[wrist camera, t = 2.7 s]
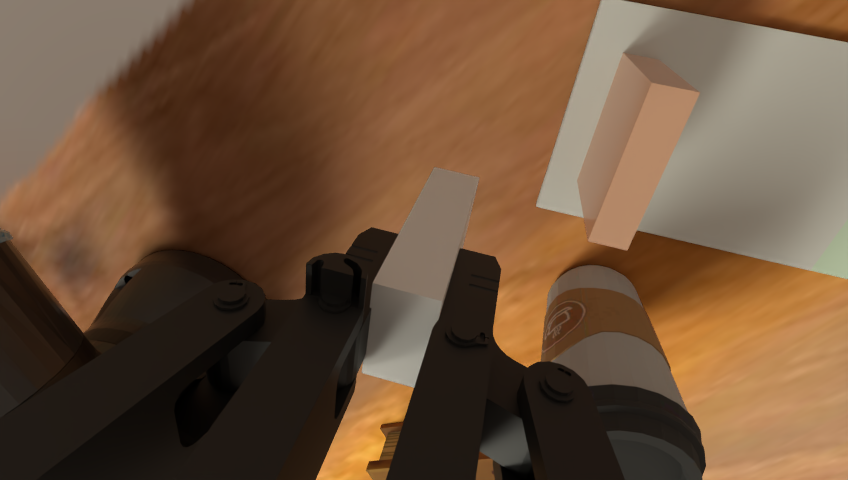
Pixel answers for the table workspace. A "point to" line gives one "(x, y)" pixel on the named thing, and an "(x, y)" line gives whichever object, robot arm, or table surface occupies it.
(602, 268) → the coffee cup
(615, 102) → the tile
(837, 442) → the table surface
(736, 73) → the mat
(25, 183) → the table surface
